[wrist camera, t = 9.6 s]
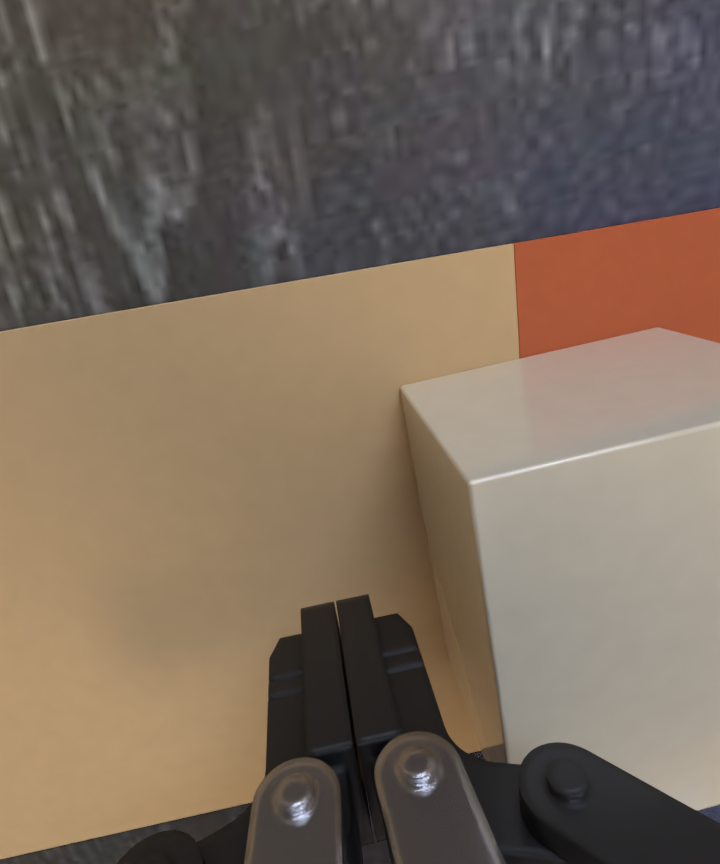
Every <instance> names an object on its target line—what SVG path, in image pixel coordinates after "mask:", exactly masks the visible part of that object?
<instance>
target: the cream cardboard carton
mask: <svg viewBox="0 0 720 864" xmlns="http://www.w3.org/2000/svg"><path fill="white" fill-rule="evenodd" d="M400 394H401V399H402V405H403V410H404V416H405V421H406V427H407V433H408V438H409V444H410V449H411V455H412V460H413V466H414V471H415V477H416V482H417V488H418V493H419V499H420V505H421V510H422V516H423V521H424V527H425V532H426V538H427V543H428V549H429V554H430V560H431V565H432V571H433V577H434V582H435V588H436V593H437V599H438V604H439V610H440V615H441V621H442V626H443V632H444V637H445V643H446V649H447V654H448V660H449V665H450V667H451V670H452V673H453V675H454V678H455V681H456V683H457V686H458V689H459V691H460V694H461V697H462V700H463V702H464V705H465V708H466V710H467V713H468V716H469V718H470V721H471V724H472V726H473V729H474V732H475V735H476V737H477V740H478V743H479V745H480V748H481V751H482V753H483V756H484V759H485V761H490V762H498V763H509V764H520V765H521V763H522V761H523V759H524V758H525V757H526V755H527V754H528V753H529V752H530V751H532V750H533V749H534V748H536V747H538V746H540V745H544V744H547V743H554V742H560V743H569V744H573V745H576V746H579V747H582V748H584V749H586V750H588V751H590V752H592V753H593V754H595V755H597V756H599V757H601V758H602V759H604V760H606V761H608V762H610V763H611V764H613V765H615V766H617V767H619V768H620V769H622V770H624V771H626V772H628V773H629V774H631V775H633V776H635V777H637V778H638V779H640V780H642V781H644V782H646V783H647V784H649V785H651V786H653V787H655V788H656V789H658V790H660V791H662V792H664V793H665V794H667V795H669V796H671V797H673V798H674V799H676V800H678V801H680V802H682V803H683V804H685V805H687V806H689V807H691V808H692V809H694V810H696V811H698V810H702V809H706V808H709V807H713V806H717V805H720V343H717V342H713V341H709V340H706V339H702V338H698V337H694V336H690V335H686V334H683V333H679V332H675V331H671V330H667V329H663V328H660V327H656V328H652V329H647V330H643V331H639V332H634V333H630V334H626V335H621V336H617V337H612V338H608V339H604V340H599V341H595V342H591V343H586V344H582V345H578V346H573V347H569V348H564V349H560V350H556V351H551V352H547V353H543V354H538V355H534V356H529V357H525V358H521V359H516V360H512V361H508V362H503V363H499V364H495V365H490V366H486V367H481V368H477V369H473V370H468V371H464V372H460V373H455V374H451V375H447V376H442V377H438V378H433V379H429V380H425V381H420V382H416V383H412V384H407V385H403V386H401V387H400Z"/></svg>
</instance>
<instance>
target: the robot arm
mask: <svg viewBox="0 0 720 864" xmlns="http://www.w3.org/2000/svg"><path fill="white" fill-rule="evenodd" d="M336 605H337V612H338V619H339V624H338V619H337V614H336V609H335V604H334V601H333V602H328V603H324V604H319V605H314V606H309V607H305V608H301V634H297V635H292V636H288V637H283V638H280V639H279V641H278V643H277V645H276V646H275V648H274V650H273V652H272V654H271V656H270V658H269V684H268V699H269V701H268V715H267V747H266V771H265V777H264V779H263V780H262V782H261V783H260V785H259V786H258V788H257V790H256V792H255V795H254V797H253V802H252V804H251V805H250V806H249V807H248V808H247V809H246V811H245V812H244V813H243V814H242V815H240V816H239V817H238V818H237V819H236V820H234V821H233V822H231V823H230V824H228V825H227V826H225V827H223V828H222V829H220V830H218V831H216V832H215V833H213V834H211V835H209V836H208V837H206V838H204V839H203V840H201V841H199V842H196V841H195V839H194V838H192V837H191V836H190V835H188V834H186V833H184V832H181V831H163V832H159V833H156V834H154V835H151V836H149V837H147V838H145V839H144V840H142V841H141V842H139V843H138V844H136V845H135V846H134V847H133V848H131V849H130V850H129V851H128V852H127V853H126V854H125V855H124V856H123V857H122V858H121V859H120V861H119V862H118V863H117V864H364V863H363V856H362V848H361V846H364V845H368V844H373V843H374V841H373V834H372V828H371V821H370V814H369V807H368V801H369V806H370V811H371V815H372V820H373V825H374V830H375V835H376V839H377V842H380V841H384V840H387V843H388V848H389V853H390V858H391V863H392V864H720V824H719V823H718V822H716V821H714V820H712V819H710V818H709V817H707V816H705V815H703V814H701V813H700V812H698V811H696V810H694V809H692V808H691V807H689V806H687V805H685V804H683V803H682V802H680V801H678V800H676V799H674V798H673V797H671V796H669V795H667V794H665V793H664V792H662V791H660V790H658V789H656V788H655V787H653V786H651V785H649V784H647V783H646V782H644V781H642V780H640V779H638V778H637V777H635V776H633V775H631V774H629V773H628V772H626V771H624V770H622V769H620V768H619V767H617V766H615V765H613V764H611V763H610V762H608V761H606V760H604V759H602V758H601V757H599V756H597V755H595V754H593V753H592V752H590V751H588V750H586V749H584V748H582V747H579V746H576V745H573V744H569V743H560V742H554V743H547V744H544V745H540V746H538V747H536V748H534V749H533V750H532V751H530V752H529V753H528V754H527V755H526V757H525V758H524V759H523V761H522V763H521V765H520V764H509V763H498V762H490V761H485V760H482V759H478V758H476V757H474V756H471V755H469V754H468V753H466V752H465V751H463V750H462V749H461V748H459V747H458V746H457V745H456V744H455V743H454V742H453V740H452V739H451V738H450V736H449V735H448V733H447V731H446V728H445V726H444V723H443V720H442V716H441V713H440V710H439V707H438V704H437V701H436V698H435V695H434V692H433V689H432V686H431V683H430V680H429V677H428V674H427V671H426V668H425V666H424V661H423V658H422V655H421V652H420V650H419V646H418V643H417V640H416V637H415V634H414V631H413V628H412V627H411V626H410V625H409V624H408V623H407V622H406V621H405V620H404V619H403V618H402V617H401V616H400V615H399V614H398V613H395V614H390V615H386V616H381V617H376V618H374V615H373V611H372V606H371V602H370V598H369V594H366V595H361V596H356V597H352V598H347V599H342V600H337V601H336ZM339 626H340V628H339ZM366 792H367V794H366ZM367 796H368V801H367Z"/></svg>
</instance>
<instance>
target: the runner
mask: <svg viewBox="0 0 720 864" xmlns="http://www.w3.org/2000/svg"><path fill="white" fill-rule="evenodd" d="M656 327H660V328H663V329H667V330H671V331H675V332H679V333H683V334H686V335H690V336H694V337H698V338H702V339H706V340H709V341H713V342H717V343H720V208H714V209H709V210H703V211H697V212H691V213H685V214H680V215H674V216H668V217H662V218H656V219H651V220H645V221H639V222H633V223H627V224H621V225H616V226H610V227H604V228H598V229H592V230H587V231H581V232H575V233H569V234H563V235H558V236H552V237H546V238H540V239H534V240H529V241H523V242H517V243H512V244H505V245H499V246H494V247H488V248H482V249H476V250H470V251H465V252H459V253H453V254H447V255H441V256H436V257H430V258H424V259H418V260H412V261H406V262H401V263H395V264H389V265H383V266H377V267H372V268H366V269H360V270H354V271H348V272H343V273H337V274H331V275H325V276H319V277H313V278H308V279H302V280H296V281H290V282H284V283H279V284H273V285H267V286H261V287H255V288H250V289H244V290H238V291H232V292H226V293H221V294H215V295H209V296H203V297H197V298H191V299H186V300H180V301H174V302H168V303H162V304H157V305H151V306H145V307H139V308H133V309H128V310H122V311H116V312H110V313H104V314H98V315H93V316H87V317H81V318H75V319H69V320H64V321H58V322H52V323H46V324H40V325H35V326H29V327H23V328H17V329H11V330H6V331H0V859H4V858H9V857H13V856H17V855H22V854H26V853H31V852H35V851H40V850H44V849H48V848H53V847H57V846H62V845H66V844H70V843H75V842H79V841H84V840H88V839H92V838H97V837H101V836H106V835H110V834H115V833H119V832H123V831H128V830H132V829H137V828H141V827H145V826H150V825H154V824H159V823H163V822H167V821H172V820H176V819H181V818H185V817H190V816H194V815H198V814H203V813H207V812H212V811H216V810H220V809H225V808H229V807H234V806H238V805H242V804H247V803H251V802H253V797H254V795H255V792H256V790H257V788H258V786H259V785H260V783H261V782H262V780H263V779H264V777H265V771H266V747H267V715H268V701H269V699H268V684H269V658H270V656H271V654H272V652H273V650H274V648H275V646H276V645H277V643H278V641H279V639H280V638H283V637H288V636H292V635H297V634H301V608H305V607H309V606H314V605H319V604H324V603H328V602H333V601H334V604H335V609H336V614H337V619H338V612H337V605H336V601H337V600H342V599H347V598H352V597H356V596H361V595H366V594H369V598H370V602H371V606H372V611H373V615H374V618H376V617H381V616H386V615H390V614H395V613H398V614H399V615H400V616H401V617H402V618H403V619H404V620H405V621H406V622H407V623H408V624H409V625H410V626H411V627H412V628H413V631H414V634H415V637H416V640H417V643H418V646H419V650H420V652H421V655H422V658H423V661H424V666H425V668H426V671H427V674H428V677H429V680H430V683H431V686H432V689H433V692H434V695H435V698H436V701H437V704H438V707H439V710H440V713H441V716H442V720H443V723H444V726H445V728H446V731H447V733H448V735H449V736H450V738H451V739H452V740H453V742H454V743H455V744H456V745H457V746H458V747H459V748H461V749H462V750H463V751H465V752H466V753H472V752H476V751H481V748H480V745H479V743H478V740H477V737H476V735H475V732H474V729H473V726H472V724H471V721H470V718H469V716H468V713H467V710H466V708H465V705H464V702H463V700H462V697H461V694H460V691H459V689H458V686H457V683H456V681H455V678H454V675H453V673H452V670H451V667H450V665H449V660H448V654H447V649H446V643H445V637H444V632H443V626H442V621H441V615H440V610H439V604H438V599H437V593H436V588H435V582H434V577H433V571H432V565H431V560H430V554H429V549H428V543H427V538H426V532H425V527H424V521H423V516H422V510H421V505H420V499H419V493H418V488H417V482H416V477H415V471H414V466H413V460H412V455H411V449H410V444H409V438H408V433H407V427H406V421H405V416H404V410H403V405H402V399H401V394H400V387H401V386H403V385H407V384H412V383H416V382H420V381H425V380H429V379H433V378H438V377H442V376H447V375H451V374H455V373H460V372H464V371H468V370H473V369H477V368H481V367H486V366H490V365H495V364H499V363H503V362H508V361H512V360H516V359H521V358H525V357H529V356H534V355H538V354H543V353H547V352H551V351H556V350H560V349H564V348H569V347H573V346H578V345H582V344H586V343H591V342H595V341H599V340H604V339H608V338H612V337H617V336H621V335H626V334H630V333H634V332H639V331H643V330H647V329H652V328H656ZM338 624H339V619H338ZM339 628H340V626H339Z"/></svg>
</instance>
